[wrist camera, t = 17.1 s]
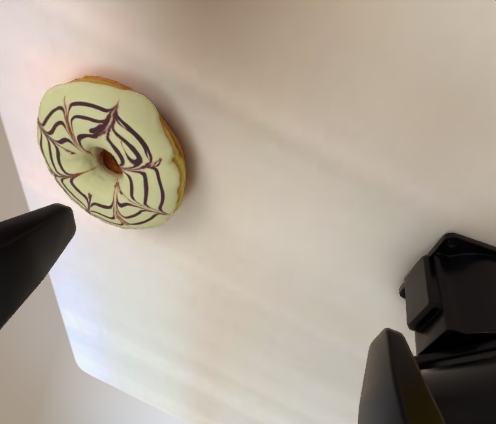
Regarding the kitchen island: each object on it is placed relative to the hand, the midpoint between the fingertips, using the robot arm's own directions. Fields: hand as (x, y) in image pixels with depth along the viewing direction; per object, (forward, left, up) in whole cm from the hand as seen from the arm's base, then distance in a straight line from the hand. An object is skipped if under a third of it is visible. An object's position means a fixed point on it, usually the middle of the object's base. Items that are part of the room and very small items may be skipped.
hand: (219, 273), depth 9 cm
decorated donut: (+11, +7, -13) cm, 19 cm away
